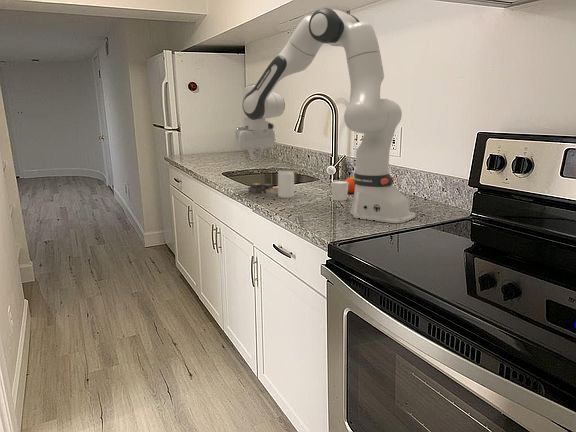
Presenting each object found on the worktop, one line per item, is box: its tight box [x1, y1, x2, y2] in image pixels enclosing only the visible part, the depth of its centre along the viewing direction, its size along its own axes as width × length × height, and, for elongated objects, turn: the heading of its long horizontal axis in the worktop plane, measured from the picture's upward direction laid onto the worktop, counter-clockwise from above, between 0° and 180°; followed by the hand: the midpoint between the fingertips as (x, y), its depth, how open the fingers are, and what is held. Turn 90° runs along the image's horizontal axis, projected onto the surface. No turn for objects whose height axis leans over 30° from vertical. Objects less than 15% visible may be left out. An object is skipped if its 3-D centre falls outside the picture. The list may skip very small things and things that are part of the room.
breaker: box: [250, 183, 262, 188], centre depth 192 cm, size 4×3×2 cm
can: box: [277, 168, 295, 199], centre depth 183 cm, size 6×6×12 cm
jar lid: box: [265, 187, 278, 196], centre depth 192 cm, size 9×9×1 cm
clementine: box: [344, 176, 355, 194], centre depth 193 cm, size 8×7×7 cm
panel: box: [247, 183, 278, 198], centre depth 192 cm, size 14×12×4 cm
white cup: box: [331, 180, 349, 202], centre depth 182 cm, size 7×7×7 cm
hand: (255, 159), depth 190 cm, fingers closed
